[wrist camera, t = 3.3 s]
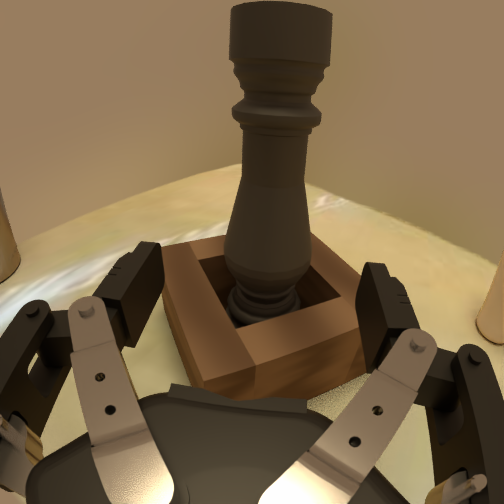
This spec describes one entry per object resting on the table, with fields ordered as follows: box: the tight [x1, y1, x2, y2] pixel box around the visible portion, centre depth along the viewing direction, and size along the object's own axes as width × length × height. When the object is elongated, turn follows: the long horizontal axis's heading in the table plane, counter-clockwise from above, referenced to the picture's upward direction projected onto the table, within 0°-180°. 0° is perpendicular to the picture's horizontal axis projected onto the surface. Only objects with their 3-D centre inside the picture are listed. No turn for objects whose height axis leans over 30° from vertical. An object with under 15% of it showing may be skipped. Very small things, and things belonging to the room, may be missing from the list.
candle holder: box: [224, 1, 332, 329], centre depth 21 cm, size 6×6×25 cm
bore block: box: [161, 233, 367, 401], centre depth 25 cm, size 14×14×7 cm
